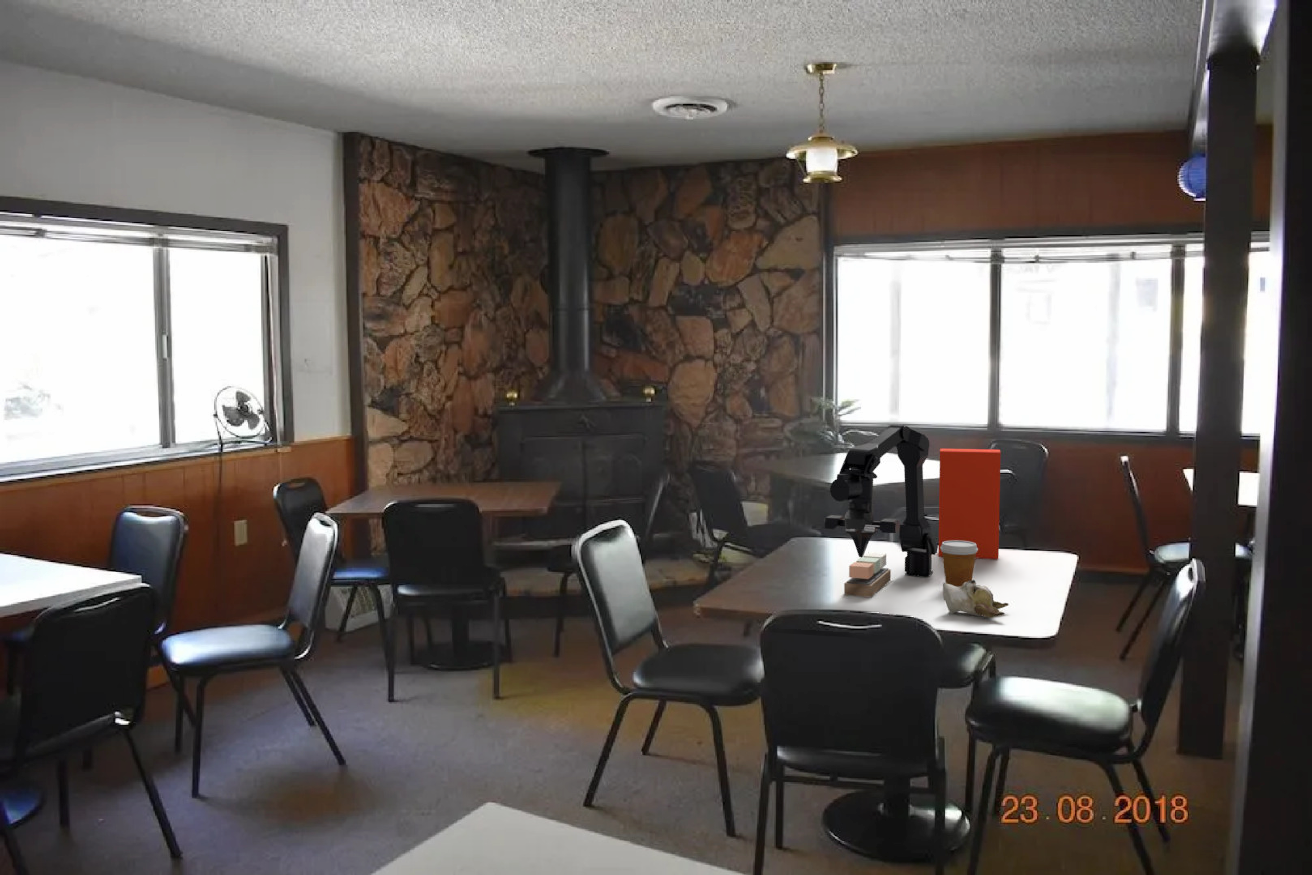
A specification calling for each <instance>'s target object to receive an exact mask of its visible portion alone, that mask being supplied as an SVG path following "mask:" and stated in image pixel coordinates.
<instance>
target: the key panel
mask: <svg viewBox="0 0 1312 875" xmlns="http://www.w3.org/2000/svg"><path fill="white" fill-rule="evenodd" d="M891 570H892V569H889V568H887V567H883V568H880V570H879V571H878V572H877V573H875V574H874V573H873V576H872V577H870V578H869V579H863V578H851V577H850V578H849V579H848V580H847V581H845V582H844V584H843V587H844V590H843V595H845V596H855V597H863V598H872V597H873V596H875V594H877V593H878V592H879V591H880V590H882V588H884V587H885V586H886V585H887V584H888V583H889V582H890V581H891V576H892V575H891V574H892V573H891Z"/></svg>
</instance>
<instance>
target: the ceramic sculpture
mask: <svg viewBox="0 0 1312 875" xmlns="http://www.w3.org/2000/svg"><path fill="white" fill-rule="evenodd" d="M942 592H943V600H944V602H945V604H946V607H947V610H948V612H950V614H955V613H958V612H962V613H966V614H969V616H970V615H971V616H975V617H976V616H977V617H985V618H996V617H1000V616H1003V615H1005V613H1004V612H1002V611H1000V609H1003V608H1005V607H1007V606H1009V605H1010V604H1009V603H1008V602H1003V603H1002V602H999V601H995V600H994V594H993V592H992V591H991V590H990V589H989V588H988V587H987V586H986V585H980V584H978V585H977V582H976V580H974V579H972V580H971V581H968V582H965V583H964V584H963V585H962V586H960V587H956V586H953V585H950V584H947V583H946V582H942Z"/></svg>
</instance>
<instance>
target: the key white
mask: <svg viewBox="0 0 1312 875" xmlns="http://www.w3.org/2000/svg"><path fill="white" fill-rule="evenodd" d="M863 557H865V558H878V559H880V568H885V566H886V565H887V553H881V552H869V551H868V552H867V553H864V556H863Z"/></svg>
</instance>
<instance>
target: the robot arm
mask: <svg viewBox="0 0 1312 875" xmlns="http://www.w3.org/2000/svg"><path fill="white" fill-rule="evenodd" d="M893 448H896V452H897V457H898V459H899V460H900V462H901V464H902V465H903V469H904V470H903V472H904V473H903V474H904V499H905V501H904V502H905V518H904V520H903V521H902V524H901V522H900V521H899V519H897V518H883V519H882V520H880V521H877V520H875V519H874V518H875V517H874V504H875V500H874V479H878V475H877V473H875V472H874V471H875V470H876V469H877V468H878V466H879V465H880V464H881V458H882V457H883V456H884V455H886V454H887V453H888V452H890V451H891V450H892V449H893ZM929 448H930V440H929V438H928V437H927V436H926V435H925V434H923V433H921V432H919V431H916V430H914V429H911V428H910V427H909V426H908V425H906V424H895V423H893V424H891V425H888V426H887V428H886V429H885V430H884V431H883V432H881V433H880V434H878V435H877V436H876V437H874V438H873V439H871V440H870V441H869V442H868V443H865V444H859V445H856V446H854V447H852V448H850V449H849V450H848V452H847V454H846V455H845V458H844V460H843V463H842V466H841V467H840V470H839V473H837V474H836V479H835V480H833V481H832V482H831V484H830V486H829V491H830V495H831V498H833V500H835V501H837V502H840V503H841V502H845V501H849V504H848V510H847V511H846V513H845V515H835V514H830V515H828V516H826V517H825V518H824V519H823V522H822V523H823V526H822V527H823V529H826V530H827V529H828V530H835V529H837V528H838V527H844V528H845V531H844V532H845V534H848V535H850V537H851V539H852V541H853V543H854V546H855V549H856V553H857V555H858V558H861V557H863V556H864V555H865V554H866V550H867V548H868V545H869V542H870V540H871V538H872V537H873V535H875V534H877V533H878V530H879V531H881V533H884V534H896V533H898V532H899V535H898V539H899V543H900V544H899V545H900V549H901V552H903V553H906V556H905V557H904V572H905V573H904V575H905V576H911V577H913V576H914V577H925V578H928V577H930V576H931V575H932V574H933V573H934V571H933V570H932V569H933V568H932V561H933V560H932V559H933V558H932V557H933V556H935V555H936V554H937V553H938V547H939V544H938V543H937V541H936V540H935V538H934V537H933V535H932V528H931V524H930V523H929V521H928V519H927V518H926V517H925V500H924V499H925V498H924V468H923V465H924V464H925V462H926V460H927V458H928V457H929ZM874 520H875V521H874Z"/></svg>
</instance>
